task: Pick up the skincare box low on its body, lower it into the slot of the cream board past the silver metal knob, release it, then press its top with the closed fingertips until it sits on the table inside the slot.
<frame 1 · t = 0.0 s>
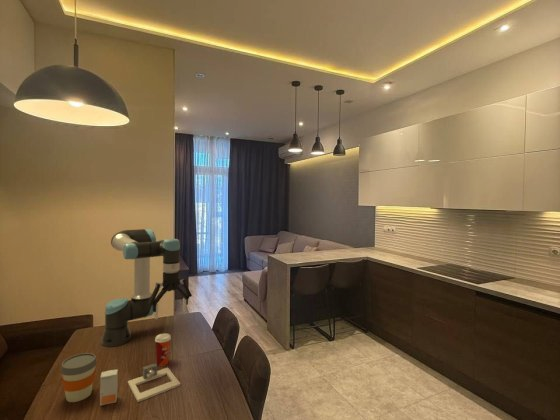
hand: (170, 314, 144), 28 cm above the table, fingers open, 13 cm apart
reusable coffee cup: (79, 395, 126), on the table
paper cup: (162, 363, 152), on the table
skincare box: (108, 401, 123), on the table
silver metal knob: (150, 371, 138), point 4 cm above the table, slide at 0.0 cm
socket board: (154, 384, 135), on the table
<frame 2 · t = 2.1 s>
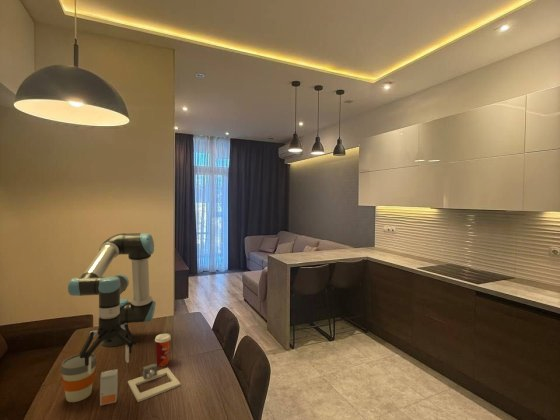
hand: (108, 366, 122), 15 cm above the table, fingers open, 13 cm apart
nothing on the table moved.
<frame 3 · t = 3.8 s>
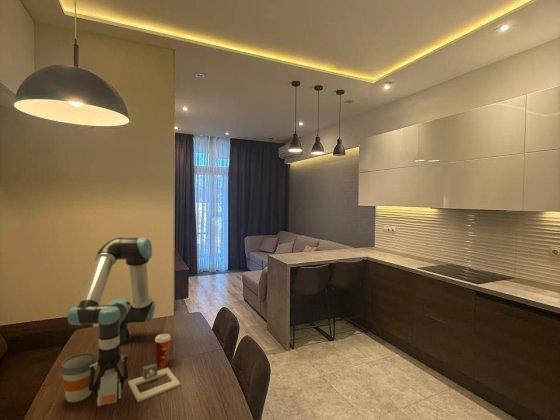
hand: (109, 400, 123), 0 cm above the table, fingers closed on skincare box, 7 cm apart
skincare box: (109, 401, 123), on the table, touching gripper
everything else where it was.
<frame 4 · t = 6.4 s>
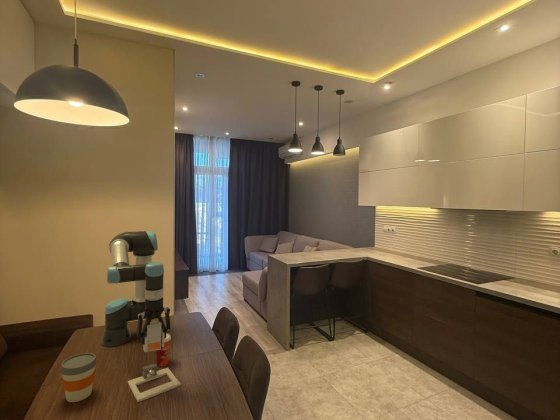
hand: (153, 348, 134), 17 cm above the table, fingers closed on skincare box, 7 cm apart
skincare box: (153, 349, 134), point 16 cm above the table, touching gripper
everything else where it was.
when the fingers open (2 cm above the table, at t = 8.9 s): skincare box drops 1 cm, resting in socket board.
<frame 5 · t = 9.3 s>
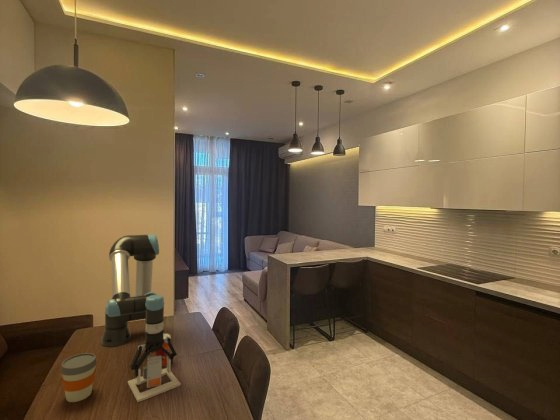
hand: (154, 377, 135), 3 cm above the table, fingers open, 12 cm apart
skincare box: (154, 384, 135), resting in socket board
everything else where it was.
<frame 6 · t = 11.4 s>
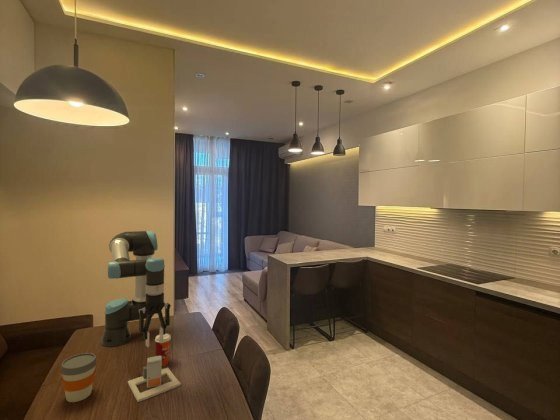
hand: (154, 343, 134), 19 cm above the table, fingers open, 5 cm apart
nothing on the table moved.
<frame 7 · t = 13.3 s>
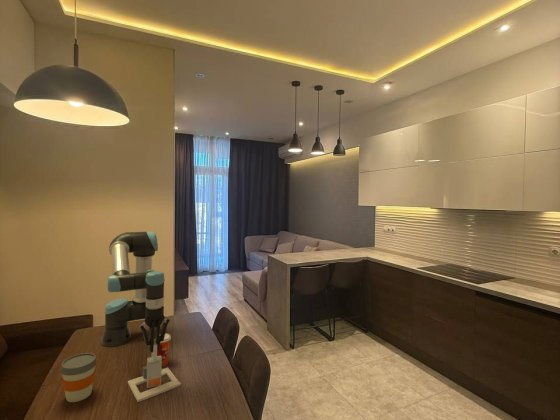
hand: (154, 358, 134), 12 cm above the table, fingers closed
skincare box: (154, 384, 135), resting in socket board, touching gripper
everything else where it was.
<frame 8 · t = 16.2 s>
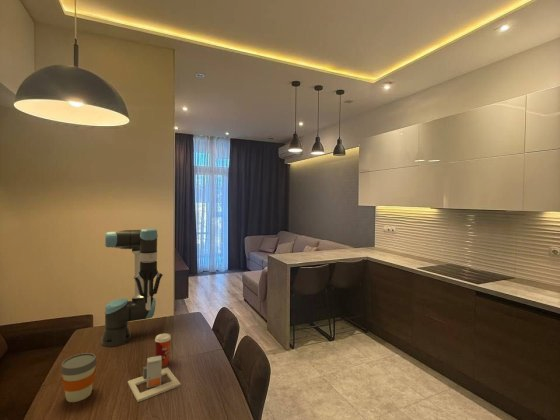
hand: (148, 309, 144), 30 cm above the table, fingers closed
skincare box: (154, 384, 135), resting in socket board
everything else where it was.
at the end: skincare box inside the target area (0.0 cm from its centre), resting in socket board; skincare box tilted 0°; the gripper is holding nothing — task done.
